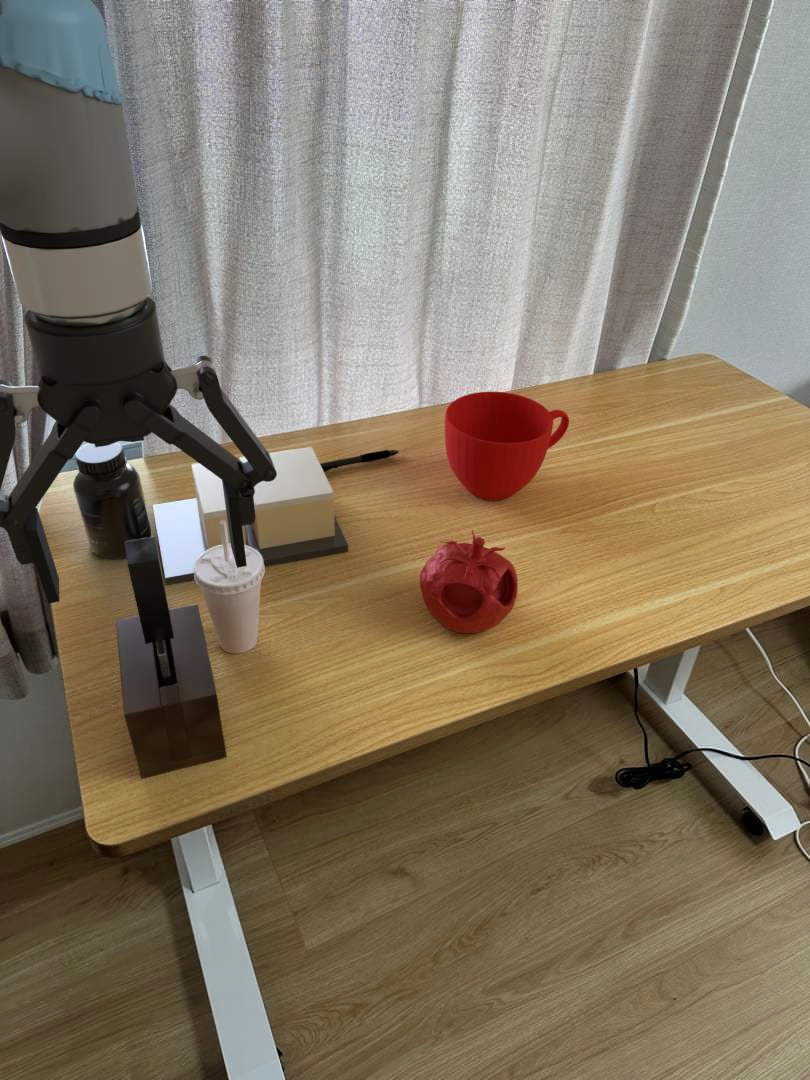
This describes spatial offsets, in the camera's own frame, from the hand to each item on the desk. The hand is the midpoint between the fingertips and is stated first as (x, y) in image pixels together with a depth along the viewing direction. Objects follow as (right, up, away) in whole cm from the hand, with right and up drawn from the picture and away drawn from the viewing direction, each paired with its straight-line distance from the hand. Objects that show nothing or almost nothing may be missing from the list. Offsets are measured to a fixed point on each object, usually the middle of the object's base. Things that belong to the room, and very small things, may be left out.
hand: (149, 573), depth 61 cm
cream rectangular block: (-2, +4, +31) cm, 31 cm away
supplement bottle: (-13, +2, +30) cm, 32 cm away
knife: (-1, -12, +9) cm, 16 cm away
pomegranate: (+26, -5, +23) cm, 35 cm away
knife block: (-1, -13, +10) cm, 17 cm away
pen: (+12, +12, +44) cm, 47 cm away
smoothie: (+3, -7, +18) cm, 20 cm away
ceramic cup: (+32, +10, +42) cm, 54 cm away
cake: (+6, +4, +33) cm, 34 cm away
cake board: (+1, +4, +32) cm, 32 cm away
